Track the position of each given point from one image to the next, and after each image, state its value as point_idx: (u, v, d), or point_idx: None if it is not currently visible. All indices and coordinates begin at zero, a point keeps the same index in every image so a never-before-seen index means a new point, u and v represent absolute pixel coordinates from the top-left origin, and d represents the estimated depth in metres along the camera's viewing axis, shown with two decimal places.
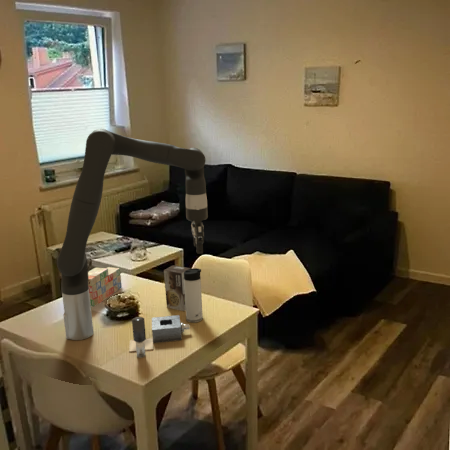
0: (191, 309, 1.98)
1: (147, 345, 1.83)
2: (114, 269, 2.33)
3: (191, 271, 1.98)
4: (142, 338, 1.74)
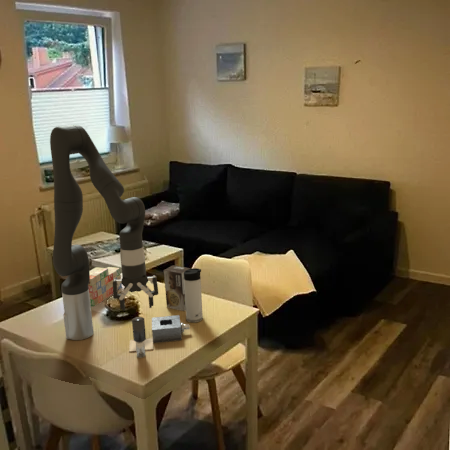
0: (191, 309, 1.98)
1: (147, 345, 1.83)
2: (114, 269, 2.33)
3: (191, 272, 1.98)
4: (142, 338, 1.74)
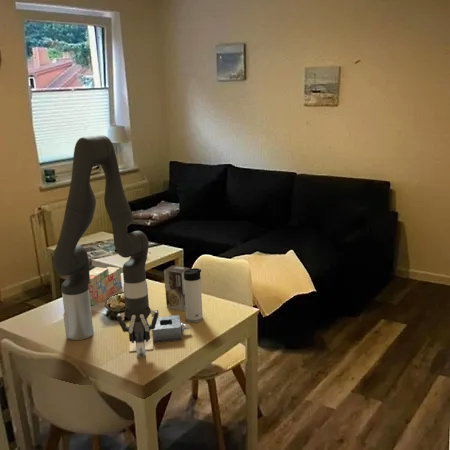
0: (191, 309, 1.98)
1: (147, 345, 1.83)
2: (114, 269, 2.33)
3: (191, 272, 1.98)
4: (142, 338, 1.74)
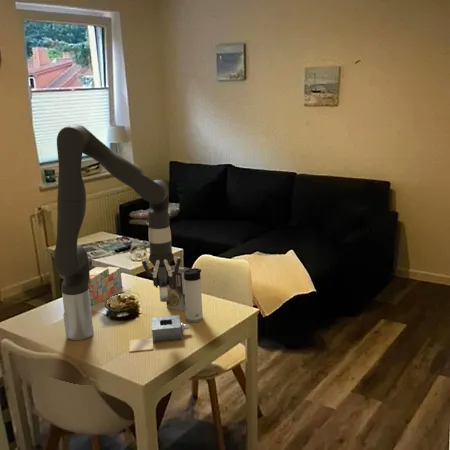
0: (191, 309, 1.98)
1: (147, 345, 1.83)
2: (115, 268, 2.33)
3: (191, 272, 1.98)
4: (165, 283, 1.84)
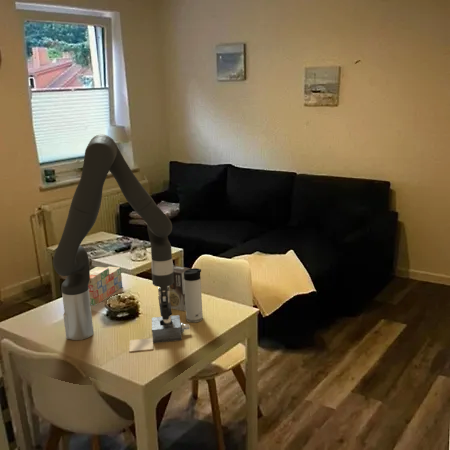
0: (191, 309, 1.98)
1: (147, 345, 1.83)
2: (115, 268, 2.34)
3: (191, 272, 1.98)
4: None
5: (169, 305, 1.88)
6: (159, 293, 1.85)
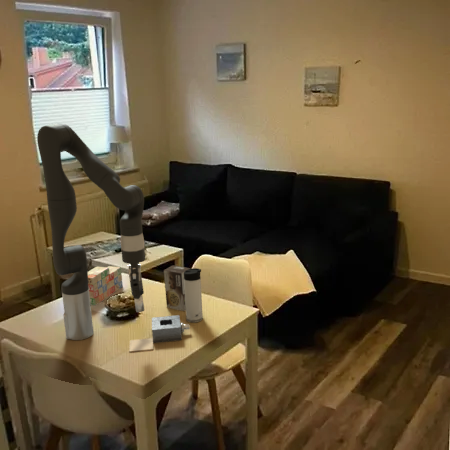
0: (191, 309, 1.98)
1: (147, 345, 1.83)
2: (115, 268, 2.34)
3: (191, 272, 1.98)
4: None
5: (140, 284, 1.77)
6: (129, 271, 1.74)
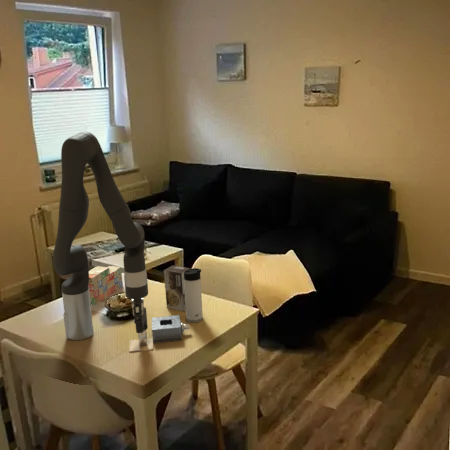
0: (191, 309, 1.98)
1: (147, 345, 1.83)
2: (115, 268, 2.34)
3: (191, 272, 1.98)
4: None
5: (145, 319, 1.80)
6: (132, 305, 1.77)
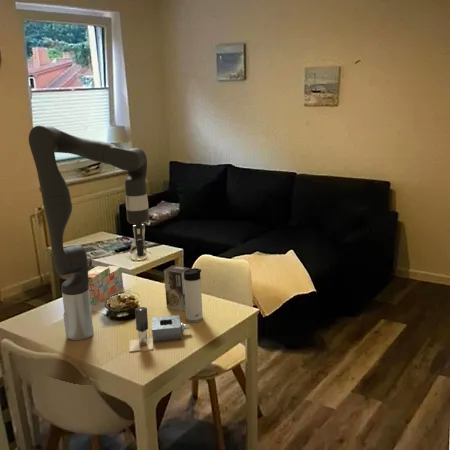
0: (191, 309, 1.98)
1: (147, 345, 1.83)
2: (115, 268, 2.34)
3: (191, 272, 1.98)
4: None
5: (146, 319, 1.80)
6: (134, 229, 1.82)
